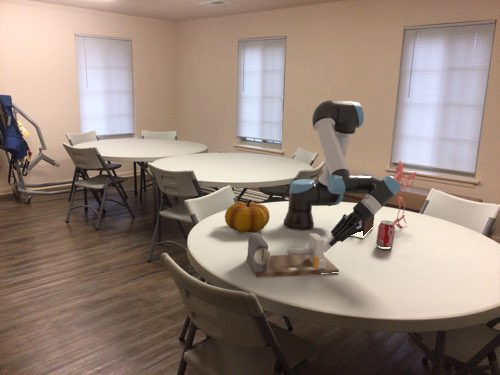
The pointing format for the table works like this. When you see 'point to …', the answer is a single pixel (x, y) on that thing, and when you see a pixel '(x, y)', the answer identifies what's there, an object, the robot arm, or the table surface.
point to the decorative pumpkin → (247, 217)
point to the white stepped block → (312, 250)
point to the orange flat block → (315, 262)
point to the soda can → (385, 234)
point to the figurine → (399, 178)
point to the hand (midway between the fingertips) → (322, 249)
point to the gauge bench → (280, 261)
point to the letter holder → (367, 225)
